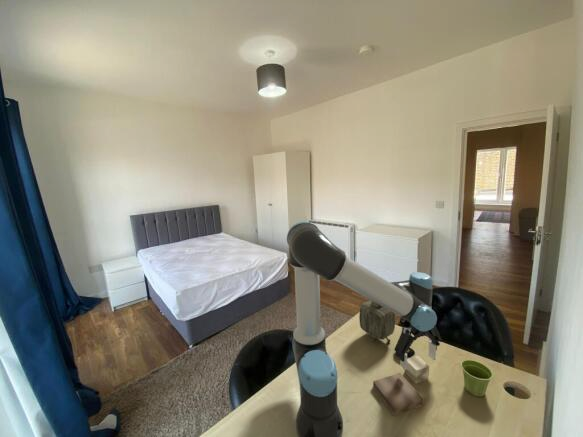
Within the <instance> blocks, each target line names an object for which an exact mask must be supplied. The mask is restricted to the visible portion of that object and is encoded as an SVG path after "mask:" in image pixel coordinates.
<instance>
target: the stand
mask: <svg viewBox="0 0 583 437" xmlns="http://www.w3.org/2000/svg"><path fill="white" fill-rule="evenodd" d="M372 383H373V384H372V386H373V387H372V388H374V390H375V392H376V393H377V394H378V396H379V397H380V398H381V399H382V401H383V403H384V404H385V405H386V406H387V408H388V409H389V411H390V412H391V413H392V414H393V415H394V417H395V416H397V415H400V414H403V413H405V412H409V411H410V410H413V409H416V408H420V407H421V406H424V405H425V399H424V397H423V396H422V395H421V394H420V393H419V392H418V391H417V390H416V388H414V386H413V385H412V384H411V383H410V382H409V381H408V380H407V378H405V377H404V376H403V374H402V373H401V372H398V373H395V374H391V375H389V376H388V375H387V376H385V377H383V378H379V379H376V380H373V382H372Z"/></svg>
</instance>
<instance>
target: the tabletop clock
mask: <svg viewBox="0 0 583 437" xmlns="http://www.w3.org/2000/svg"><path fill="white" fill-rule="evenodd" d="M359 308H360V309H359V316H358V317H359V318H358V319H359V327H360V329H361V330H362V331H364V332H365V333H366V334H368V335H369V336H371V338H370V339H371V342H374V341H375V339H376V340H381V341H382V340H385V339H386V342H387V343H388V344H389V343H391V340H390V338H388V337H389V336H391V335H392V334H394V332H395V329H396V328H395V327H396V314H395V313H393V312H392V311H390V310H388V309H386V308H384V307H383V306H381V305H379V304H377V303H375V302H374V301H372V300H370V299H368V301H366V302H363V303H362V304H361V305H360V307H359Z"/></svg>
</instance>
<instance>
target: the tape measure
mask: <svg viewBox="0 0 583 437" xmlns="http://www.w3.org/2000/svg"><path fill="white" fill-rule="evenodd" d="M395 354H396V356H397V357H399V354H398V353H397V352H396V351H395ZM406 354H407V359H408V358H411V357H414V356H416V352H415V350H414V349H413V348H411V346H410V347H409V349H408V350H407V352H406Z"/></svg>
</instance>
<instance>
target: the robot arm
mask: <svg viewBox="0 0 583 437" xmlns="http://www.w3.org/2000/svg"><path fill="white" fill-rule="evenodd" d="M286 242H287V245H288V257H289V259H288V260H289V265H290V266H291V267H292V268H294V289H295V290H294V292H295V294H294V295H295V311H296V312H295V313H296V326H297V327H295V329H294V330H293V332H292V335H293V336H292V337H293V338H292V343H291V344H292V346H291V348H292V352H293V353H294V354H293V355H294V360H295V365H296V371H297V376H298V383H299V392H300V393H299V395H300V405H299V407H298V411H297V413H296V417H295V418H296V420H295V422H296V423H295V425H296V432H297V435H298V437H343V433H344V421H343V416H342V414H341V411H340V408H339V406H338V369H337V365H336V362H335V360H334V359H333V357H332V356H331V355H329V353H328V352H327V347H326V345H327V344H326V331H325V329H324V328H323V327H322V325H321V324H322V320H321V319H322V318H321V293H320V292H321V290H320V287H321V286H320V284H321V283H320V282H321V281H320V277H322V278H323V279H326V280H327V281H328V282H331V281H336V282H338V283H340V284H342V285H343V286H345V287H347V288H349V289H351V290H352V291H354V292H356V293H358V294H359V295H361V296H362V297H365V298H366V299H368V300H372V301H374V302H375V303H377V304H379V305H381V306H383V307H384V308H386V309H388V310H390V311H392V312H393V313H395V315H397V316H399V317H400V318H401V319H403V320H406V321H407V322H408V323H409V326H408V327H406V326H403V327H402V328H401V333H400V335H399V337H398V340H397V342H396V345H395V347H394V352H395V353H396V352H397V353H398V354H399V356H398V359H399V362H400V363H399V366H401V367H402V368H403V370H404V371H405V370H406V369H407V354H406V352H407V350H408V349H409V347H410V348H411V346H412V344H413V343H414V342H415V341H416V340H417V339H419V338H421V337H425V335H426V337H427V338H428V339H429V340H430V341H428V357H429V358H431V359H432V360H433V361H436V359H437V358H436V355H437V349H438V347H439V346H440V345H441V342H442V341H443V340H442V337H441V335H440V332H439V330H438V328H437V321H438V316H437V314H436V312H435V310H433V309H432V304H433V303H432V302H433V289H434V287H433V286H434V285H433V284H434V283H433V278H432V276H431V275H429V274H427V273H425V272H418V271H415V272H412V273H410V274H409V278H408V280H402V281H401V280H400V281H392V282H390V281H388V280H387V279H384V278H383V277H381V276H379V275H378V274H377V273H374V272H373V271H371V270H369V269H368V268H366V267H364V266H363V265H361V264H359V263H358V262H356V261H355V260H353V259H351V258H349V257H348V256H347V253H346V251H345V250H343V249H341V248H339V247H338V246H336V244H334V243H333V242H332V241H331V240H330V239H329V238H328V237H327V236H326V235H325V234H324V233H323V232H322V231H321V229H320V228H318V226H317V225H316V224H314V223H311V222H309V221H299V222H297V223H295V224H293V225H292V226H291V227H290V228H289V230H288V231H287V236H286ZM430 331H431V333H430Z"/></svg>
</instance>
